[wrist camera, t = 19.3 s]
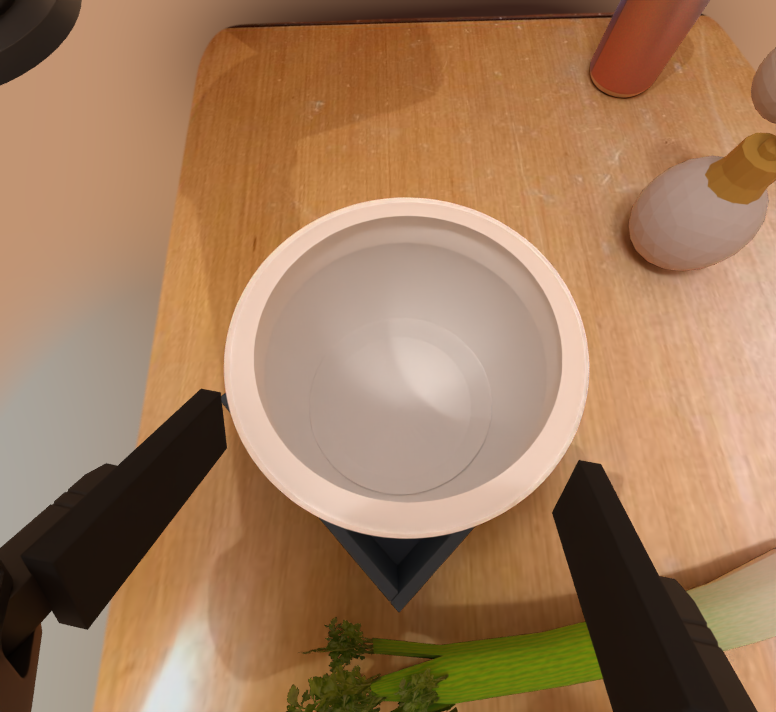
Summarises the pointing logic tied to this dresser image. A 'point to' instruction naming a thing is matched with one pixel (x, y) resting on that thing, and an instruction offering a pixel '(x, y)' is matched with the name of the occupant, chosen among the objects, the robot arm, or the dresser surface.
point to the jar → (406, 368)
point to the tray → (395, 557)
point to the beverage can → (641, 43)
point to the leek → (521, 653)
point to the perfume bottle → (710, 196)
